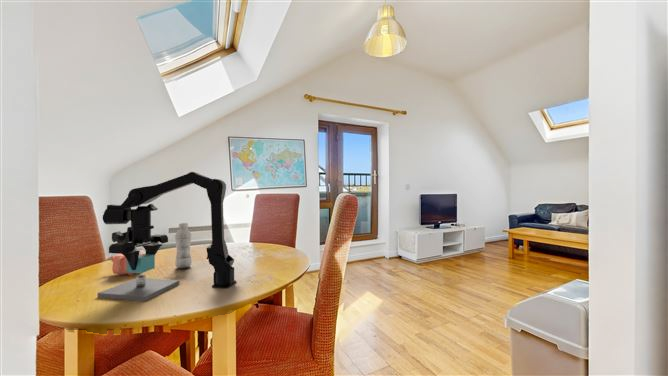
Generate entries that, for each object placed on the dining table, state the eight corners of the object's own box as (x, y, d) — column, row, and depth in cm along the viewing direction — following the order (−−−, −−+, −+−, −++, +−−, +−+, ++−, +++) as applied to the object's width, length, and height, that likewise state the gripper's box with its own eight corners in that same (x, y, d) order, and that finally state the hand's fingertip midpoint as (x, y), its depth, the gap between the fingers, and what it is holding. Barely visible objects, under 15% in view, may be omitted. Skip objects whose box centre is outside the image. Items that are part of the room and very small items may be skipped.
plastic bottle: (184, 270, 116) (184, 225, 116) (171, 269, 118) (171, 224, 118) (195, 266, 123) (195, 223, 123) (182, 265, 124) (182, 222, 124)
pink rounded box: (109, 273, 112) (108, 250, 112) (143, 267, 121) (143, 246, 121) (111, 280, 104) (111, 255, 104) (148, 273, 113) (148, 250, 112)
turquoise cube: (154, 268, 96) (154, 254, 96) (141, 273, 91) (141, 258, 91) (141, 267, 97) (141, 253, 97) (127, 272, 92) (126, 257, 92)
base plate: (179, 284, 100) (179, 280, 100) (144, 301, 85) (144, 296, 85) (137, 281, 103) (137, 277, 103) (97, 297, 88) (97, 293, 88)
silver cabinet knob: (148, 285, 95) (148, 274, 95) (140, 288, 92) (140, 277, 92) (141, 284, 96) (141, 274, 96) (133, 287, 93) (133, 276, 93)
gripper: (144, 219, 104) (144, 259, 104) (94, 227, 86) (94, 274, 86) (169, 220, 103) (169, 260, 103) (123, 227, 84) (123, 276, 84)
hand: (141, 267), depth 94 cm, fingers closed on turquoise cube, 6 cm apart
